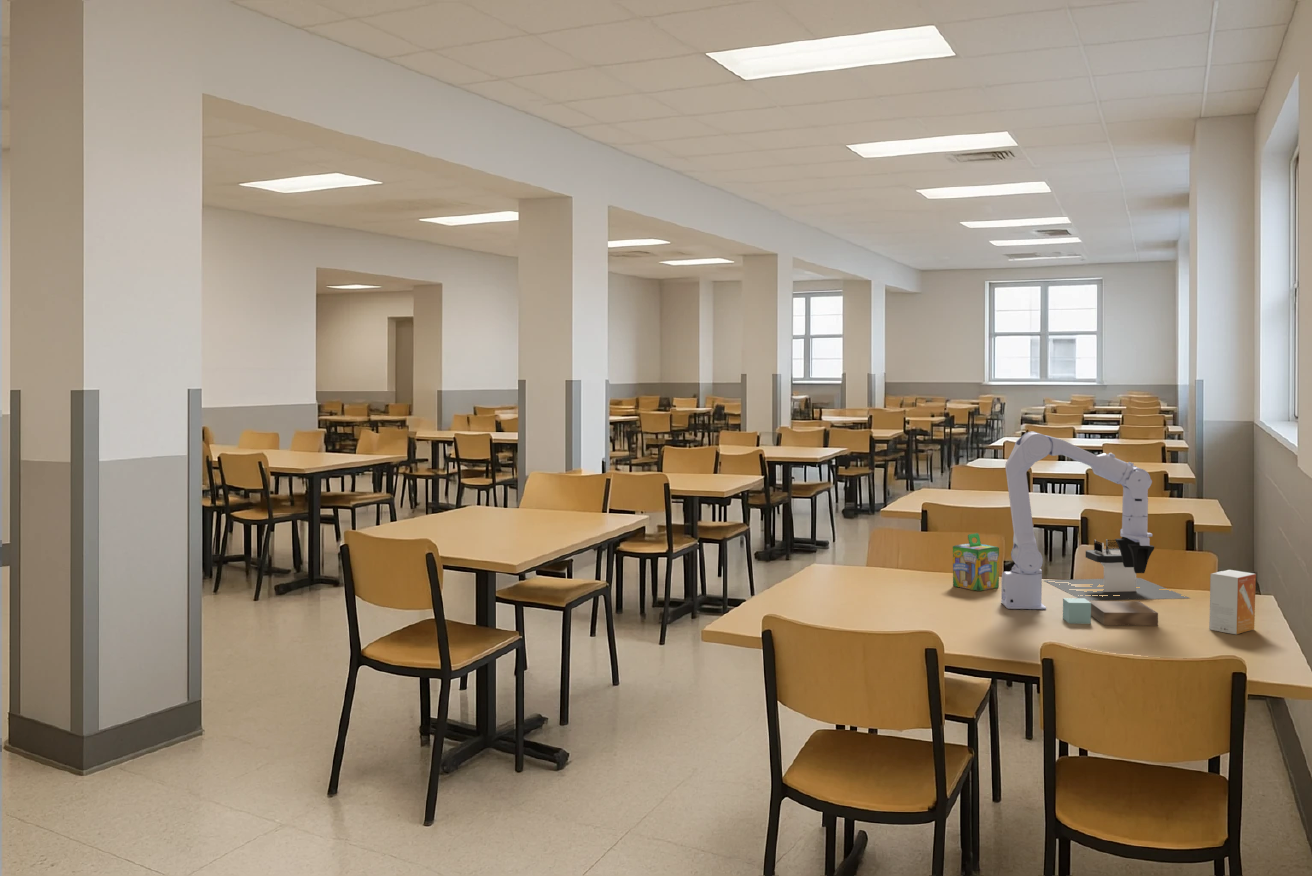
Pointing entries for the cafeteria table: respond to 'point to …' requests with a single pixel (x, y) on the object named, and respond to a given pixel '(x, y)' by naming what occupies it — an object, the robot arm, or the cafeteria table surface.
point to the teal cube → (1077, 610)
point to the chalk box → (975, 565)
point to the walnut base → (1123, 613)
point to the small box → (1232, 601)
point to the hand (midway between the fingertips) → (1134, 570)
